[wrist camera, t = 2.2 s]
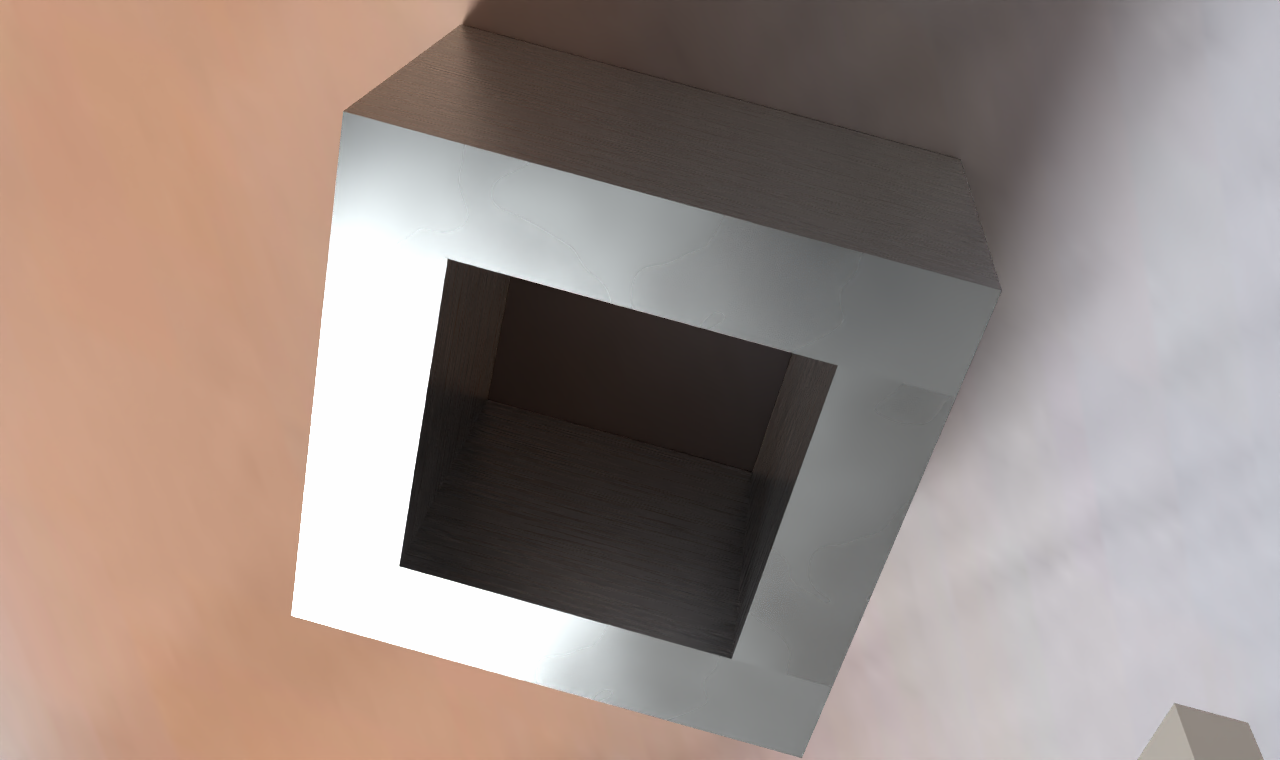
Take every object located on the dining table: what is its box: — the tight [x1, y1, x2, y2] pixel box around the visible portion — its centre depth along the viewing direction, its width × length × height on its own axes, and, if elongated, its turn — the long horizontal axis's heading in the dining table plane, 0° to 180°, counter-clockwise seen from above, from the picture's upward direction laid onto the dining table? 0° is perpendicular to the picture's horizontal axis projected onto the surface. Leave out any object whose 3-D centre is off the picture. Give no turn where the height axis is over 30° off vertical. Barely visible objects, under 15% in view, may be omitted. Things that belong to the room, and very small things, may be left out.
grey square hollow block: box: [292, 25, 1002, 758], centre depth 18 cm, size 8×8×5 cm
